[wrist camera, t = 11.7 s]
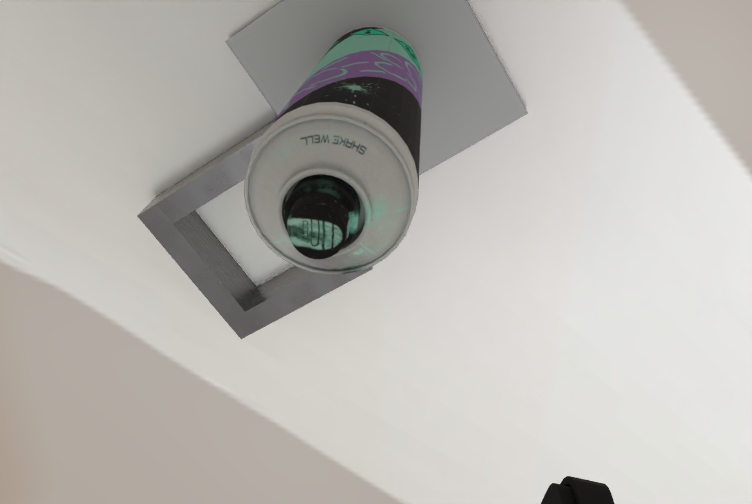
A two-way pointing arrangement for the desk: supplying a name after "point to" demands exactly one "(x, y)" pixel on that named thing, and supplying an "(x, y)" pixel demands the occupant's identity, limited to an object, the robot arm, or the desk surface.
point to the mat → (426, 35)
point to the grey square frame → (212, 261)
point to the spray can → (342, 157)
